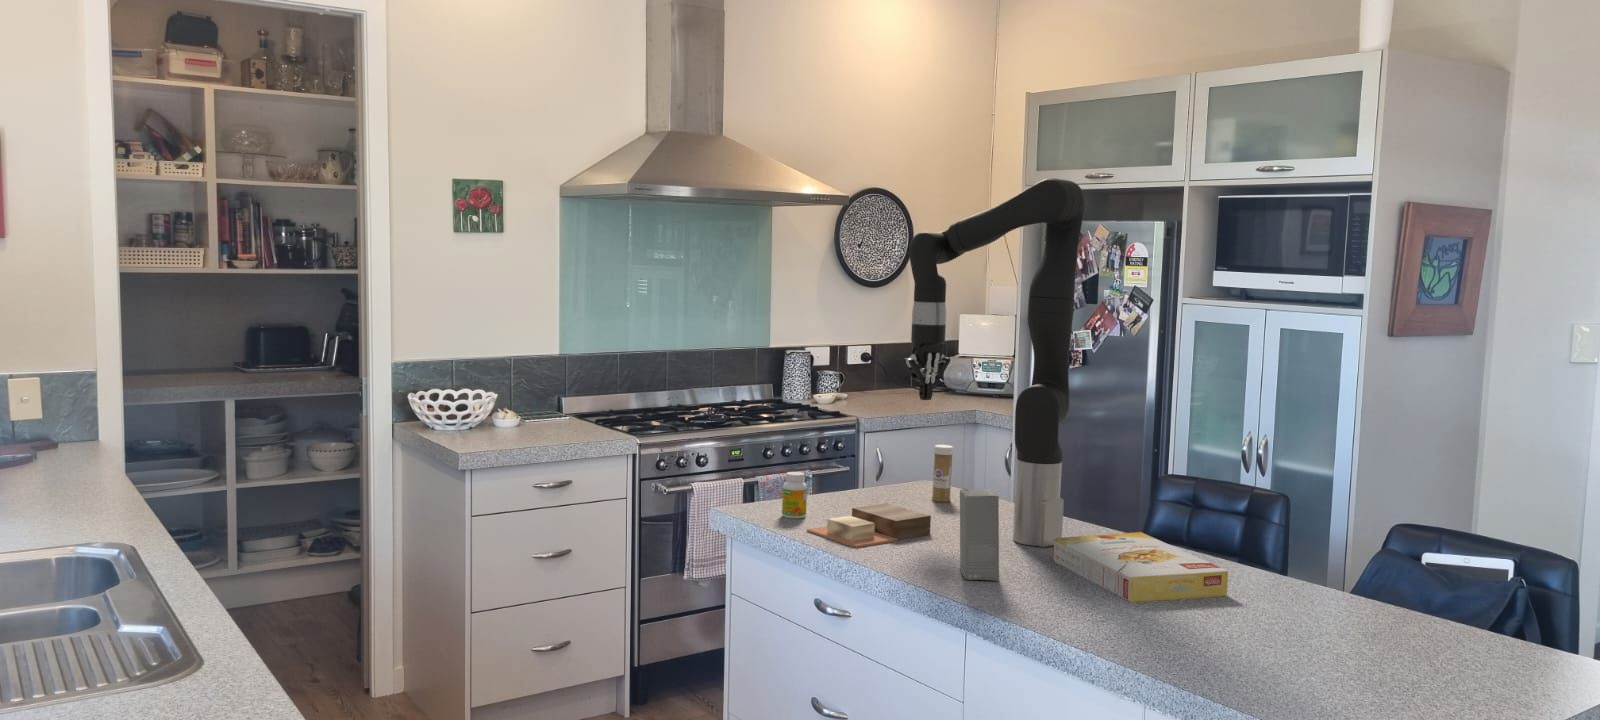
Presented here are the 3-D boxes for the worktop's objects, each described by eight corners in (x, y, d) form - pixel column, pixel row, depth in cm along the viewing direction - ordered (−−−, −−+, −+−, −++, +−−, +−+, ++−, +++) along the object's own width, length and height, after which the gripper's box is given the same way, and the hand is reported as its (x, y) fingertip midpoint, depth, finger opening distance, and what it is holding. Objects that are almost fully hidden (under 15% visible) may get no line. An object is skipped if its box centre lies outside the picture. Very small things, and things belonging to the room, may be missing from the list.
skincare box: (999, 582, 215) (1003, 496, 214) (960, 580, 215) (964, 495, 214) (993, 569, 224) (997, 487, 222) (955, 568, 224) (959, 486, 222)
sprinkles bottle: (929, 501, 285) (932, 446, 283) (934, 497, 289) (936, 443, 288) (948, 503, 283) (951, 447, 282) (952, 499, 287) (955, 445, 286)
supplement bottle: (778, 517, 262) (780, 474, 261) (786, 512, 267) (787, 470, 266) (801, 519, 260) (803, 476, 259) (808, 515, 265) (810, 472, 264)
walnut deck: (930, 534, 251) (930, 515, 250) (895, 539, 244) (896, 520, 244) (885, 521, 262) (886, 503, 261) (851, 526, 255) (852, 508, 255)
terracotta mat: (896, 541, 243) (896, 538, 243) (856, 547, 237) (856, 545, 237) (846, 525, 256) (846, 523, 256) (806, 531, 249) (807, 529, 249)
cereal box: (1141, 530, 237) (1231, 567, 211) (1139, 557, 238) (1230, 597, 211) (1051, 536, 231) (1133, 574, 205) (1050, 564, 232) (1131, 606, 205)
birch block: (852, 526, 240) (852, 541, 240) (874, 523, 244) (874, 537, 244) (827, 518, 246) (827, 532, 246) (849, 515, 250) (849, 529, 250)
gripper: (919, 323, 255) (916, 403, 257) (961, 323, 264) (958, 400, 265) (895, 321, 261) (892, 399, 262) (937, 321, 269) (934, 396, 271)
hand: (925, 399), depth 264 cm, fingers closed
